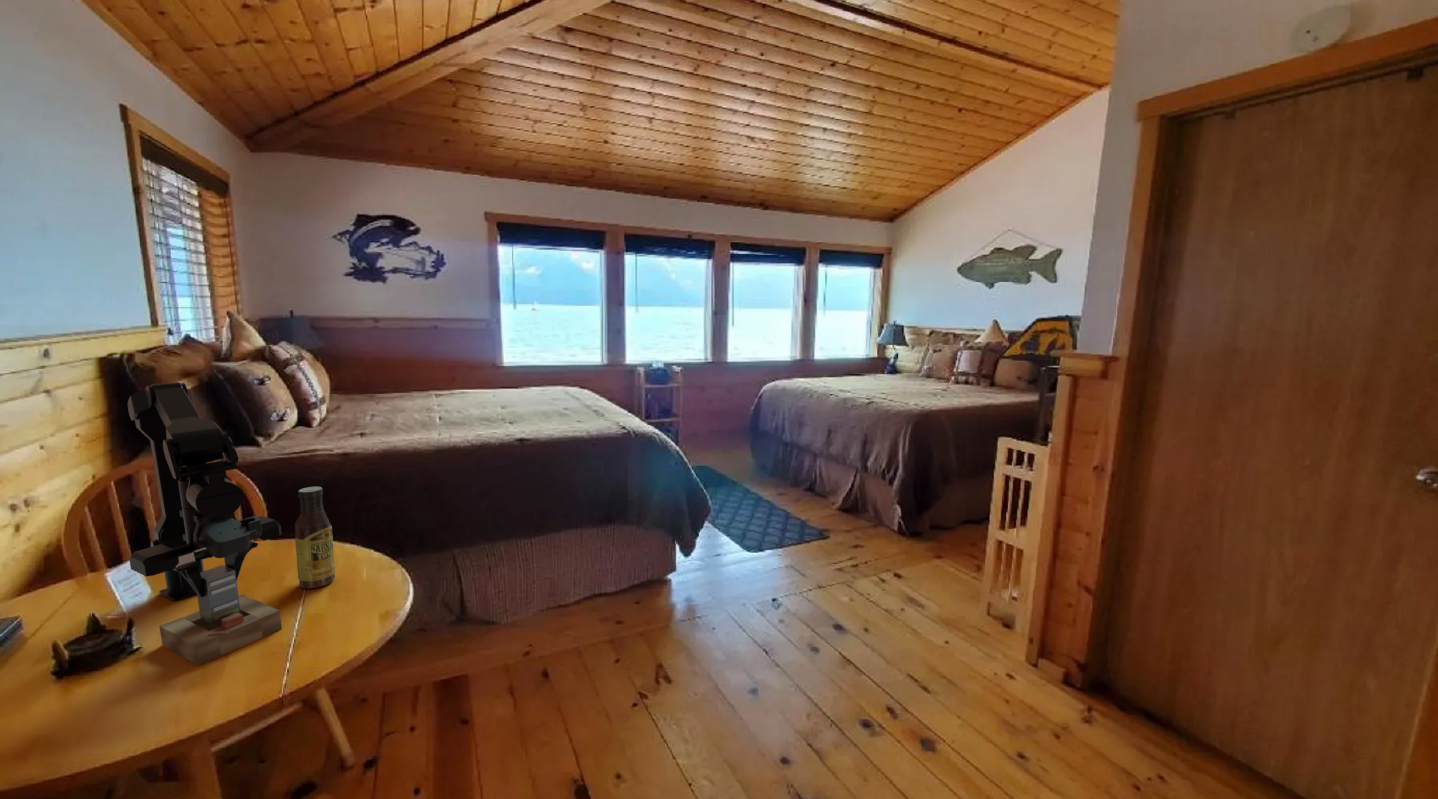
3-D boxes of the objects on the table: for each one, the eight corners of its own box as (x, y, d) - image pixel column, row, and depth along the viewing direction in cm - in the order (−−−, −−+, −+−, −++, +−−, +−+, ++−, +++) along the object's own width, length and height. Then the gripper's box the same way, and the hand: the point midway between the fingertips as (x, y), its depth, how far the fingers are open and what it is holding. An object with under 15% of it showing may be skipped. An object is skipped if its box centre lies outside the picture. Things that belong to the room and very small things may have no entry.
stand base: (162, 645, 99) (158, 619, 98) (245, 612, 110) (242, 588, 109) (200, 666, 94) (196, 639, 93) (283, 629, 104) (280, 605, 103)
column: (199, 618, 100) (193, 573, 99) (227, 607, 104) (221, 564, 103) (213, 624, 98) (207, 580, 97) (241, 613, 102) (235, 570, 101)
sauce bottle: (317, 592, 118) (307, 496, 114) (291, 588, 119) (280, 493, 115) (344, 577, 124) (335, 485, 120) (319, 574, 125) (309, 483, 122)
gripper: (155, 531, 86) (170, 630, 89) (294, 494, 102) (303, 579, 105) (120, 518, 91) (136, 612, 94) (258, 484, 107) (268, 565, 110)
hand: (217, 591), depth 100 cm, fingers closed on column, 4 cm apart
